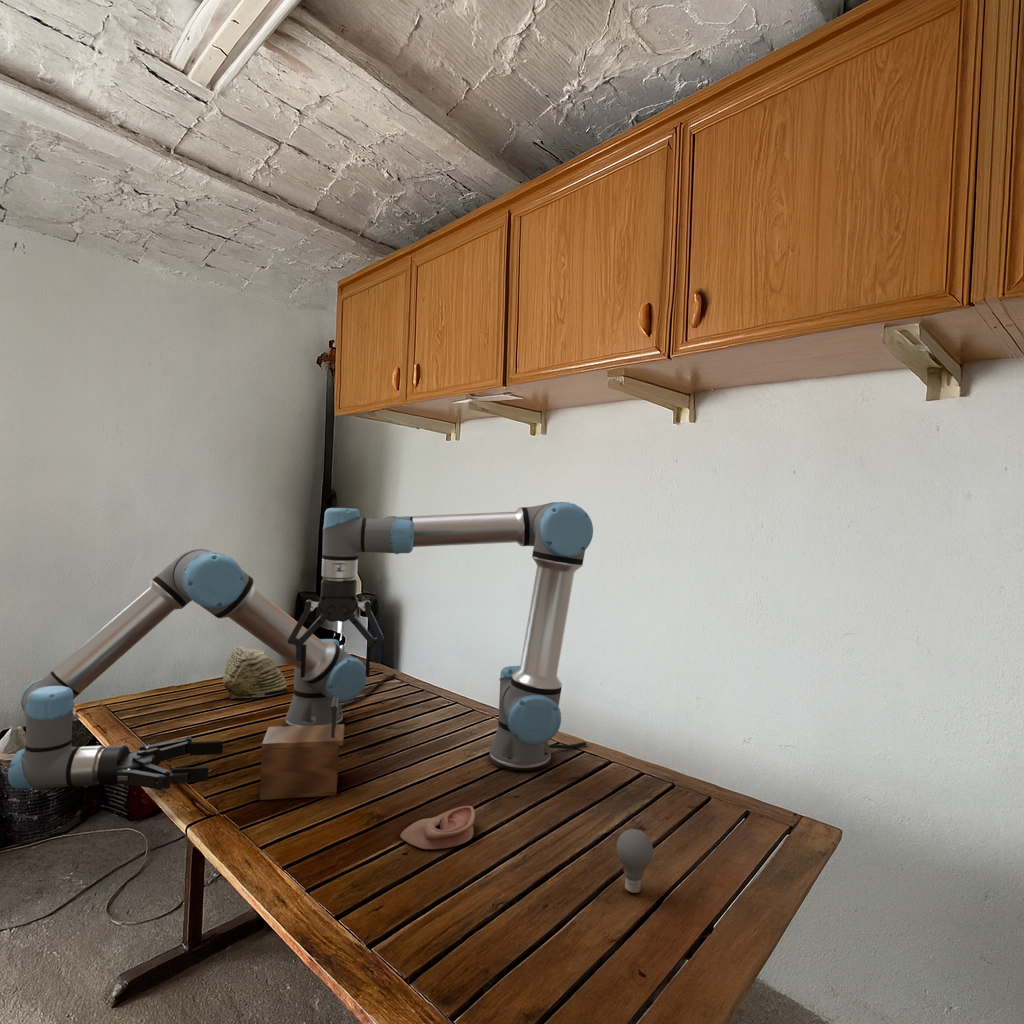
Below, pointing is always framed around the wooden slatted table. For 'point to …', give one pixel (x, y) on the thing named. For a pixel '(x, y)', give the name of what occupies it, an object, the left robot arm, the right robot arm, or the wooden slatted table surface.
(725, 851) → the wooden slatted table surface
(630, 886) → the light bulb
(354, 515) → the right robot arm
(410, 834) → the anatomical model
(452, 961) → the wooden slatted table surface
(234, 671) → the fossil
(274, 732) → the lid
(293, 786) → the chest
